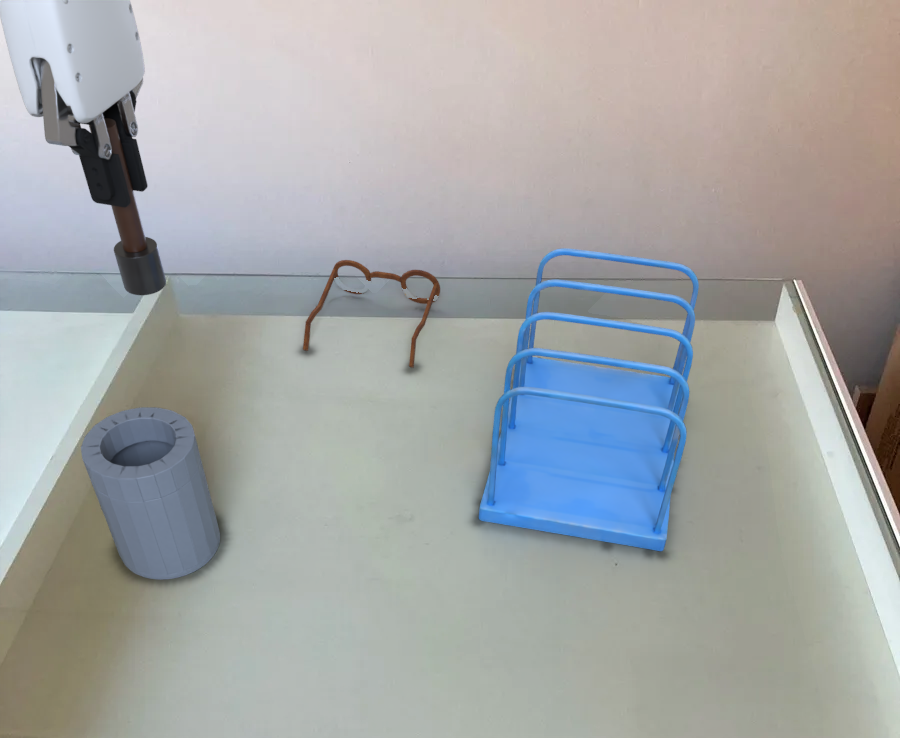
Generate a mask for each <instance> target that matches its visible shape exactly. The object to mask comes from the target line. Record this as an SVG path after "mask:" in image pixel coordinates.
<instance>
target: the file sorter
mask: <svg viewBox="0 0 900 738" xmlns="http://www.w3.org/2000/svg"><path fill="white" fill-rule="evenodd" d="M560 256H561V257H562V256H569V257H576V258H585V259H592V260H600V261H601V260H602V261H608V262H609V261H610V262H615V263H624V264H631V265H632V264H633V265H638V266H645V267H654V268H661V269H667V270H673V271H674V270H675V271H679V272H681V273H683V274H684V275H686V276H687V277H688V278H689V279H690V281H691V283H692V293H691V298H690V302H688V301H687V300H686V299H685V298H683V297H681V296H679V295H675V294H671V293H663V292H658V291H649V290H642V289H636V288H629V287H620V286H613V285H606V284H598V283H590V282H583V281H574V280H566V279H557V278H556V279H547V280H544V281H542V279H543V273H544V272H543V271H544V268H545V266H546V264H547V263H548V262H549V261H550V260H551V259H554V258H556V257H560ZM554 287H555V288H567V289H572V290H580V291H588V292H596V293H605V294H613V295H620V296H626V297H627V296H628V297H635V298H640V299H649V300H656V301H663V302H667V303H669V302H670V303H674V304H675V305H676V304H677V305H678V306H680V307H681V308H682V309H684V311H686V313H687V314H686V317H685V320H684V321H685V322H684V325H683V329H682V333H681V332H679V331H678V330H675V329H671V328H667V327H660V326H654V325H646V324H640V323H633V322H626V321H619V320H614V319H606V318H600V317H599V318H598V317H591V316H583V315H576V314H570V313H569V314H568V313H562V312H554V311H540V312H538V311H539V303H540V295H541V291H542V290H545V289H548V288H554ZM699 287H700V284H699V279H698V277H697V275H696V273H695V272H694V271H693V270H692V269H691V268H690V267H688V266H687V265H685V264H682V263H679V262H674V261H668V260H661V259H660V260H659V259H654V258H653V259H652V258H646V257H639V256H630V255H623V254H616V253H608V252H603V251H592V250H585V249H577V248H566V247H565V248H564V247H563V248H557V249H554V250H551V251H549V252H547V254H546V255H545V256H543V257H542V259H541V261H540V262H539V265H538V268H537V272H536V278H535V286H534V287H533V289H532V290H531V291H530V293H529V295H528V298H527V302H526V310H525V318H524V320H523V322H522V323H521V326H520V327H519V330H518V335H517V340H516V350H515V354H514V355H513V356H512V357H511V358H510V360H508V364H507V367H506V369H505V376H504V386H503V394H502V395H501V396H500V397H499V398H498V400H497V402H496V404H495V407H494V414H493V424H492V434H491V435H492V436H491V451H490V463H489V471H488V472H489V473H488V476H487V480H486V482H485V487H484V490H483V494H482V497H481V501H480V504H479V508H478V509H479V510H478V520H479V521H481V522H486V523H494V524H497V525H504V526H509V527H510V526H511V527H516V528H522V529H523V528H524V529H528V530H533V531H534V530H535V531H541V532H547V533H552V534H559V535H563V536H570V537H575V538H581V539H586V540H587V539H588V540H593V541H599V542H606V543H612V544H616V545H624V546H629V547H635V548H640V549H645V550H652V551H657V552H663V551H664V550H665V547H666V543H667V540H668V529H669V519H670V509H671V508H670V507H671V499H672V498H671V496H672V492H673V489H674V485H675V482H676V479H677V475H678V472H679V468H680V465H681V461H682V457H683V454H684V451H685V450H684V449H685V446H686V442H687V432H688V431H687V427H686V424H685V423H684V420H685V417H686V412H687V409H688V403H689V400H690V386H689V383H688V380H689V376H690V373H691V368H692V364H693V358H694V350H693V345H692V343H691V342H692V338H693V333H694V330H695V325H696V314H695V313H696V312H695V308H696V303H697V299H698V296H699V295H698V294H699ZM542 320H543V321H544V320H549V321H550V320H551V321H558V322H564V323H565V322H567V323H573V324H582V325H589V326H595V327H596V326H597V327H601V328H602V327H603V328H604V327H605V328H609V329H619V330H624V331H629V332H638V333H644V334H650V335H657V336H663V337H668V338H671V339H672V338H673V339H674V340H676V341H678V342H679V344H678V349H677V351H676V355H675V360H674V362H673V368H671V367H669V366H666V365H659V364H653V363H647V362H640V361H635V360H628V359H622V358H615V357H608V356H607V357H606V356H601V355H594V354H587V353H582V352H581V353H580V352H572V351H566V350H565V351H564V350H558V349H551V348H543V347H542V348H541V347H535V337H536V329H537V323H538V322H539V321H542ZM544 357H545V358H544ZM549 358H552V359H549ZM558 359H559V360H558ZM565 360H567V361H565ZM571 361H573V362H571ZM577 362H581V363H577ZM584 363H589V364H584ZM591 364H595V365H591ZM597 365H603V366H597ZM604 366H610V367H604ZM612 367H616V368H612ZM618 368H621V369H618ZM622 368H623V369H622ZM626 369H629V370H626ZM513 370H514V371H513ZM632 370H636V371H632ZM638 371H642V372H638ZM645 372H648V373H645ZM652 373H655V374H652ZM659 374H662V375H659ZM512 375H513V380H512ZM511 387H512V388H511Z"/></svg>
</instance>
